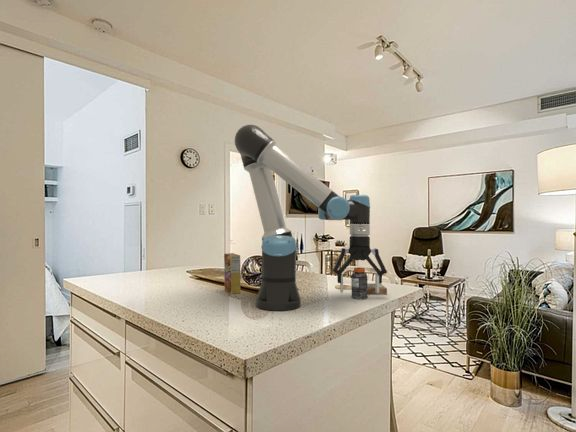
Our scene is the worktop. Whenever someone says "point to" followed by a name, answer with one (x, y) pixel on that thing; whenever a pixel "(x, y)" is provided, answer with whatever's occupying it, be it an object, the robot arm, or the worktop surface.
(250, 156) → the robot arm
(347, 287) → the cork coaster
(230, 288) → the candy box
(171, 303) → the worktop surface
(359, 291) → the pill bottle
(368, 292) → the walnut stand
